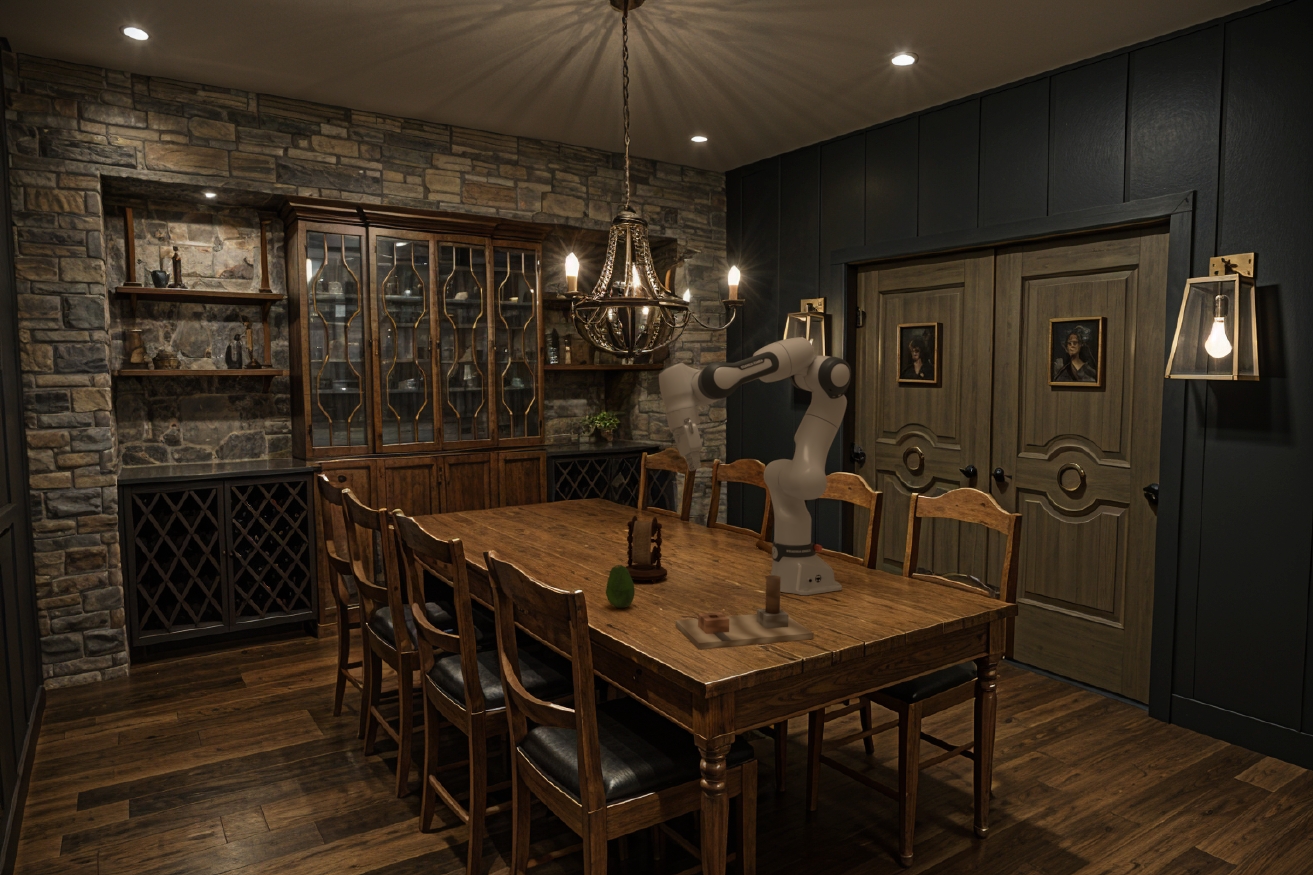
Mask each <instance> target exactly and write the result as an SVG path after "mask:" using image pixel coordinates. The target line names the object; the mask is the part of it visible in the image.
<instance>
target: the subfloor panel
mask: <svg viewBox="0 0 1313 875" xmlns="http://www.w3.org/2000/svg"><path fill="white" fill-rule="evenodd" d="M765 609H766V608H757V609H756V613H754V614H753V613H752V614H751V613H750V614H742V615H741V614H740V615H739V614H737V615H727V616H726V615H725V614H723V613H722V611H718V612H706V613H705V612H703V613H698V614H697V618H689V619H676V620H675V627H676V628H677V629H678V630H679V631H680V632H681V634H683V635H684V637H686V638H687V639H688V640H689V641H690V643H692V644H693V645H694V646H695V647H696V649H698V650H705V649H706V650H707V649H717V648H729V647H738V646H739V647H741V646H750V645H759V644H772V643H784V642H795V641H805V640H814V638H815V636H814V635H815V634H814V632H813V631H812V630H810V629H808V627H807V628H806V627H805V626H804V625H802V624H801V623H799V622H797V621H796V620H795V619H793V618H792V617H790V616H789V613H787V612H786V611H785V610H783V609H781V608H780V613H778V614H769V613H766V612H765Z"/></svg>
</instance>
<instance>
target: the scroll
mask: <svg viewBox="0 0 1313 875" xmlns="http://www.w3.org/2000/svg"><path fill="white" fill-rule="evenodd" d="M626 525H627V529H628V531H627V537H626V542H627V543H628V546H627V552H626V555H627V558H628V560H627V566H625V567H626V568H627V570H628V572H629V574H630V576H631V578H632V580H633V581H634V580H635V581H651V582H652V585H653V584H656V581H657V580H659V579H660V580H661V579H663V578H666V577H667V576H668V570H667V569H666V568H665V567H663V566H662V562H661V560H662V559H661V558H662V553H661V551H662V547H661V546H662V543H663V538H662V533H661V532H662V528H663V525H662V523H660V522H658V518H657V517H656V516H654V517H652V521H643V520H638V517H637V515H633V517H632V518H631V520H630V521H627V524H626ZM655 535H656V537H655ZM654 537H655V538H654ZM654 543H655V544H656V545H654V546H653V547H652V544H654ZM651 549H652V550H651Z"/></svg>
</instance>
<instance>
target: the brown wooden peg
mask: <svg viewBox="0 0 1313 875" xmlns="http://www.w3.org/2000/svg"><path fill="white" fill-rule="evenodd" d="M780 582H781V577H780V576H775V575H771V574H770V575H766V577H765V608H764V609H765V612H766V613H769V614H778V613H780V609H781V592H780Z"/></svg>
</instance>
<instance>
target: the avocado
mask: <svg viewBox="0 0 1313 875" xmlns="http://www.w3.org/2000/svg"><path fill="white" fill-rule="evenodd" d="M608 575H609V576H608V579H607V583H606V588H605V589H606V590H605V594H606V599H607V600H608V602H609V604H610V605H611V606H613V607H615V608H619V609H625V608H627V607H629V606H630V605H631V604H632V603H633V601H634V597H635V594H636V591H635V583H634V580H633V579H632V578H631V576H630V574H629V572H628V570H627V568H626V566H624V565H623V564H617V565H615V566H613V567H612V568H611V569H610V572H609V574H608Z"/></svg>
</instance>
